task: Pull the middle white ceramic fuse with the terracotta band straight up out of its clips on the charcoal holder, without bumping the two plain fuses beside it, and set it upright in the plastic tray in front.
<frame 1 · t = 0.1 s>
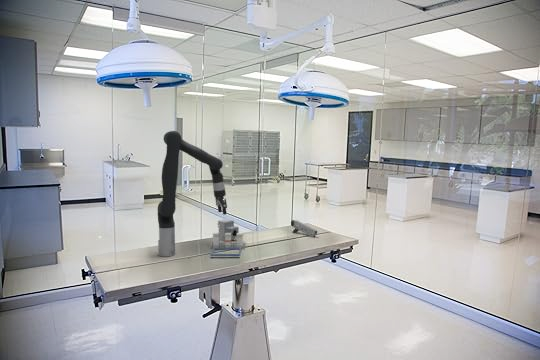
hand: (222, 213, 231), 23 cm above the table, tool pointing down, fingers open, 8 cm apart
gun: (303, 235, 266), on the table
tray: (226, 255, 215), on the table
fuse holder: (228, 249, 227), on the table
left fuse: (216, 247, 226), point 1 cm above the table, touching fuse holder
right fuse: (239, 247, 227), point 1 cm above the table, touching fuse holder
circuit breaker: (229, 243, 243), on the table
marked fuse: (228, 247, 226), point 1 cm above the table, touching fuse holder
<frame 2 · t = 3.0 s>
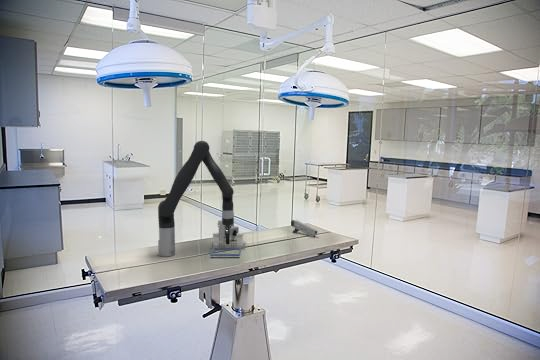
hand: (228, 243, 226), 4 cm above the table, tool pointing down, fingers closed on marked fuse, 3 cm apart
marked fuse: (228, 247, 226), point 2 cm above the table, touching fuse holder, gripper
everything else where it was.
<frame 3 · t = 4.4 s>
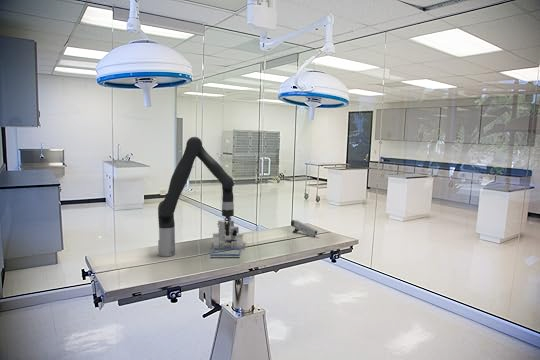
hand: (227, 234, 226), 10 cm above the table, tool pointing down, fingers closed on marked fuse, 3 cm apart
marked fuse: (227, 238, 226), point 7 cm above the table, touching gripper
everything else where it was.
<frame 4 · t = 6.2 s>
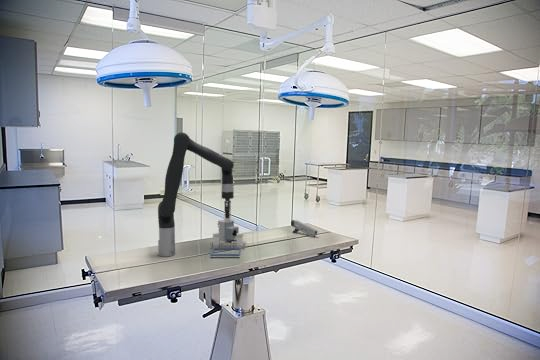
hand: (227, 217, 224), 21 cm above the table, tool pointing down, fingers closed on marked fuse, 3 cm apart
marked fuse: (227, 221, 225), point 18 cm above the table, touching gripper
everything else where it was.
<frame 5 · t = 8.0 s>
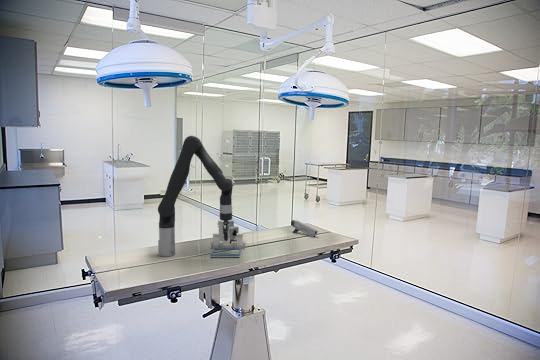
hand: (226, 239, 214), 10 cm above the table, tool pointing down, fingers closed on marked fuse, 3 cm apart
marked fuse: (226, 243, 215), point 7 cm above the table, touching gripper
everything else where it was.
when the fingers open (5 cm above the table, at t = 9.3 s): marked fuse drops 1 cm, resting on tray.
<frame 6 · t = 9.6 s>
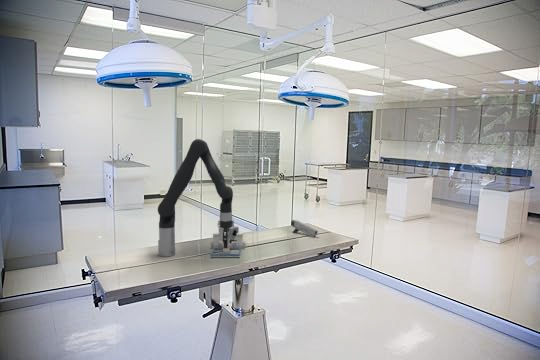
hand: (226, 246, 215), 5 cm above the table, tool pointing down, fingers open, 6 cm apart
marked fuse: (226, 253, 215), point 1 cm above the table, touching tray
everything else where it was.
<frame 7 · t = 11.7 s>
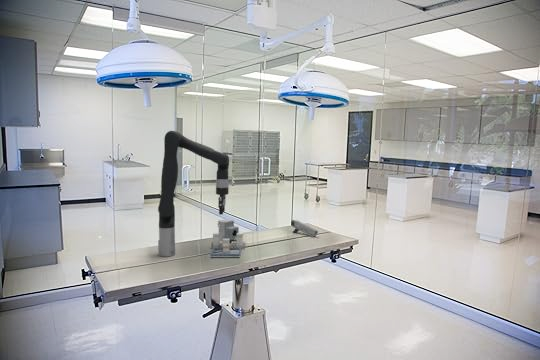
hand: (221, 213, 213), 26 cm above the table, tool pointing down, fingers open, 8 cm apart
nothing on the table moved.
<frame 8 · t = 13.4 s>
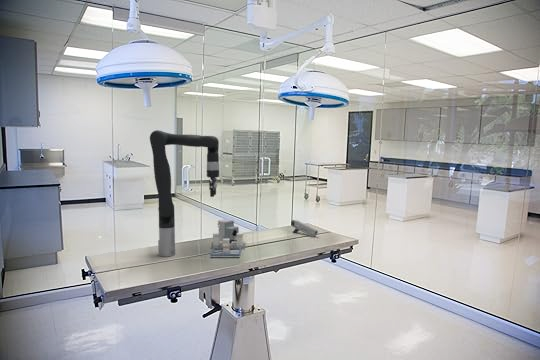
hand: (213, 195, 215), 36 cm above the table, tool pointing down, fingers open, 8 cm apart
nothing on the table moved.
at the end: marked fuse inside the target area on the tray (0.0 cm from its centre), point 0.8 cm above the tray's base; left fuse moved 0.0 cm from its start; right fuse moved 0.0 cm from its start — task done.
